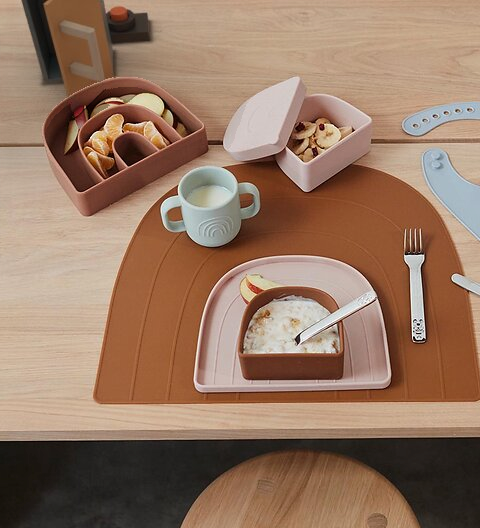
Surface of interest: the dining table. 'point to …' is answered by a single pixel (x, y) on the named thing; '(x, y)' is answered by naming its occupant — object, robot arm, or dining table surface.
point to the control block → (129, 28)
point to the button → (118, 14)
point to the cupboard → (43, 38)
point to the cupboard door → (79, 42)
